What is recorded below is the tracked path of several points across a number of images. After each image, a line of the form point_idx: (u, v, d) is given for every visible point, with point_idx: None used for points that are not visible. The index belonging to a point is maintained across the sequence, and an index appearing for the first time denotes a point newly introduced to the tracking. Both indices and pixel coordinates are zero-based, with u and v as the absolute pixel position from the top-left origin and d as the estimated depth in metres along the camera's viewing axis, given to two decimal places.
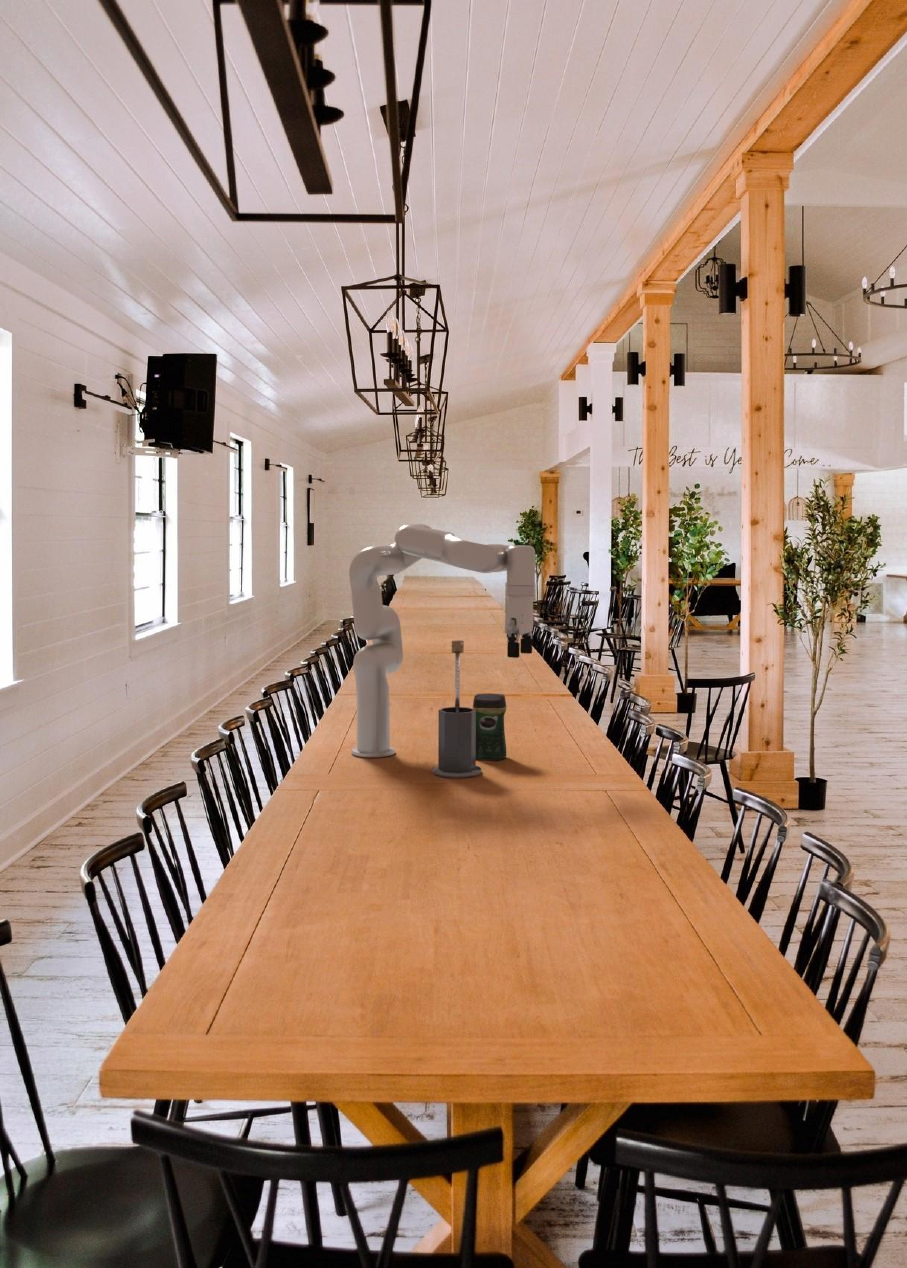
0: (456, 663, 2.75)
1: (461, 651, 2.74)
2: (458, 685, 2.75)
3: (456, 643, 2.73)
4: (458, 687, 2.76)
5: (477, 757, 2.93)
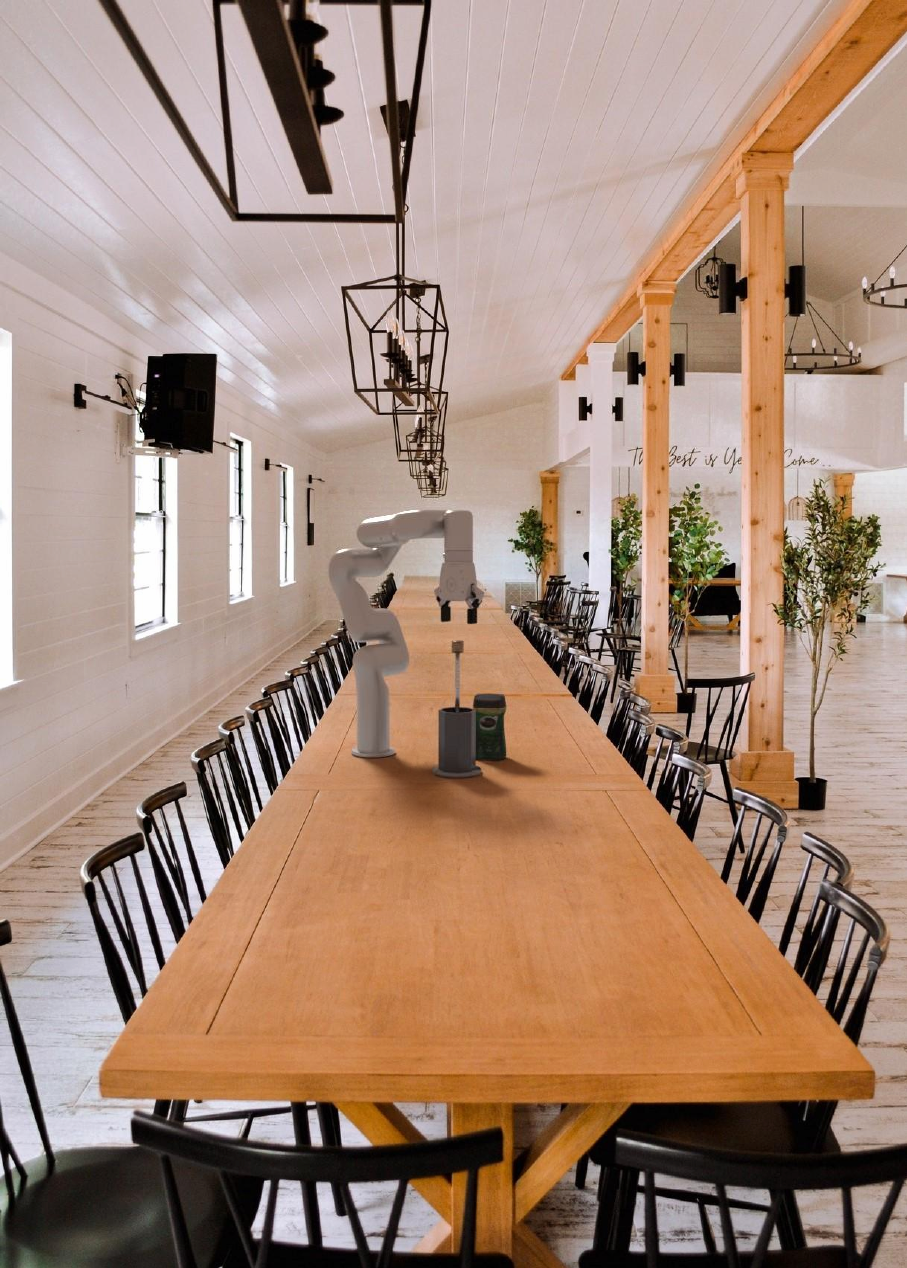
0: (456, 663, 2.75)
1: (461, 651, 2.74)
2: (458, 685, 2.75)
3: (456, 643, 2.73)
4: (458, 687, 2.76)
5: (477, 757, 2.93)
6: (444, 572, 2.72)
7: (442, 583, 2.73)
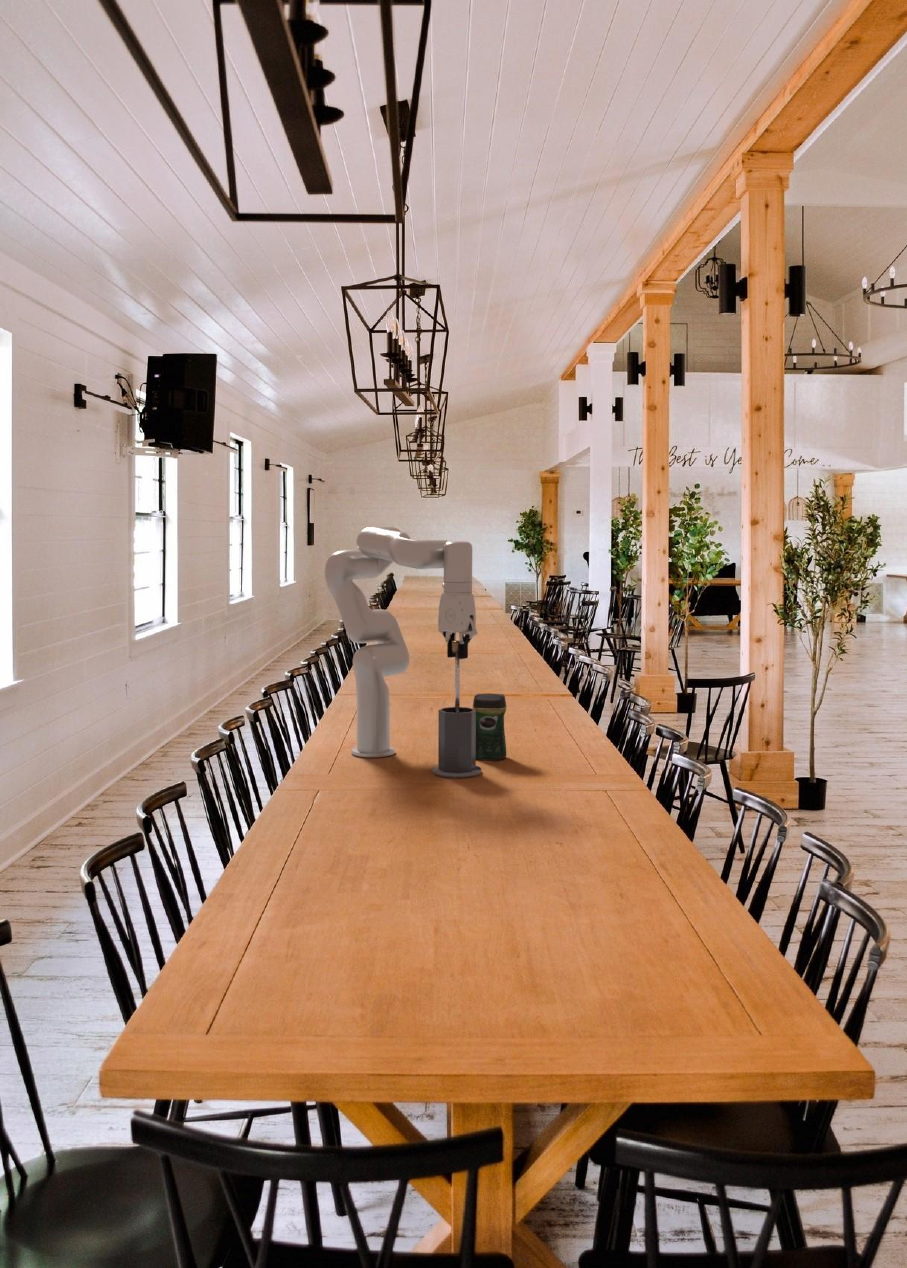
0: (456, 663, 2.75)
1: None
2: (458, 685, 2.75)
3: (456, 643, 2.73)
4: (458, 687, 2.76)
5: (477, 757, 2.93)
6: (443, 603, 2.73)
7: (441, 614, 2.74)
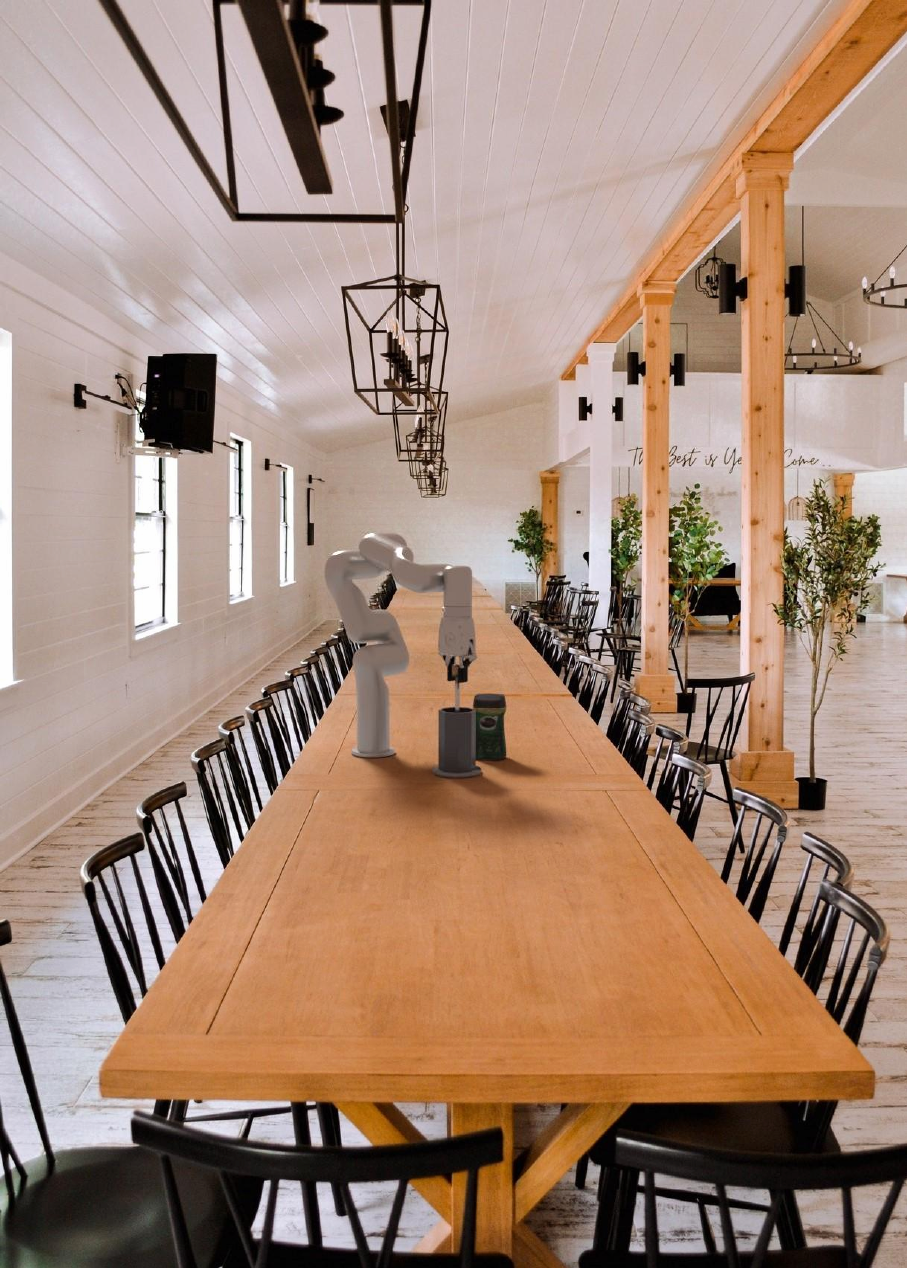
0: (456, 686, 2.75)
1: None
2: (458, 709, 2.76)
3: (456, 667, 2.74)
4: (458, 711, 2.76)
5: (477, 757, 2.93)
6: (443, 627, 2.74)
7: (441, 638, 2.75)
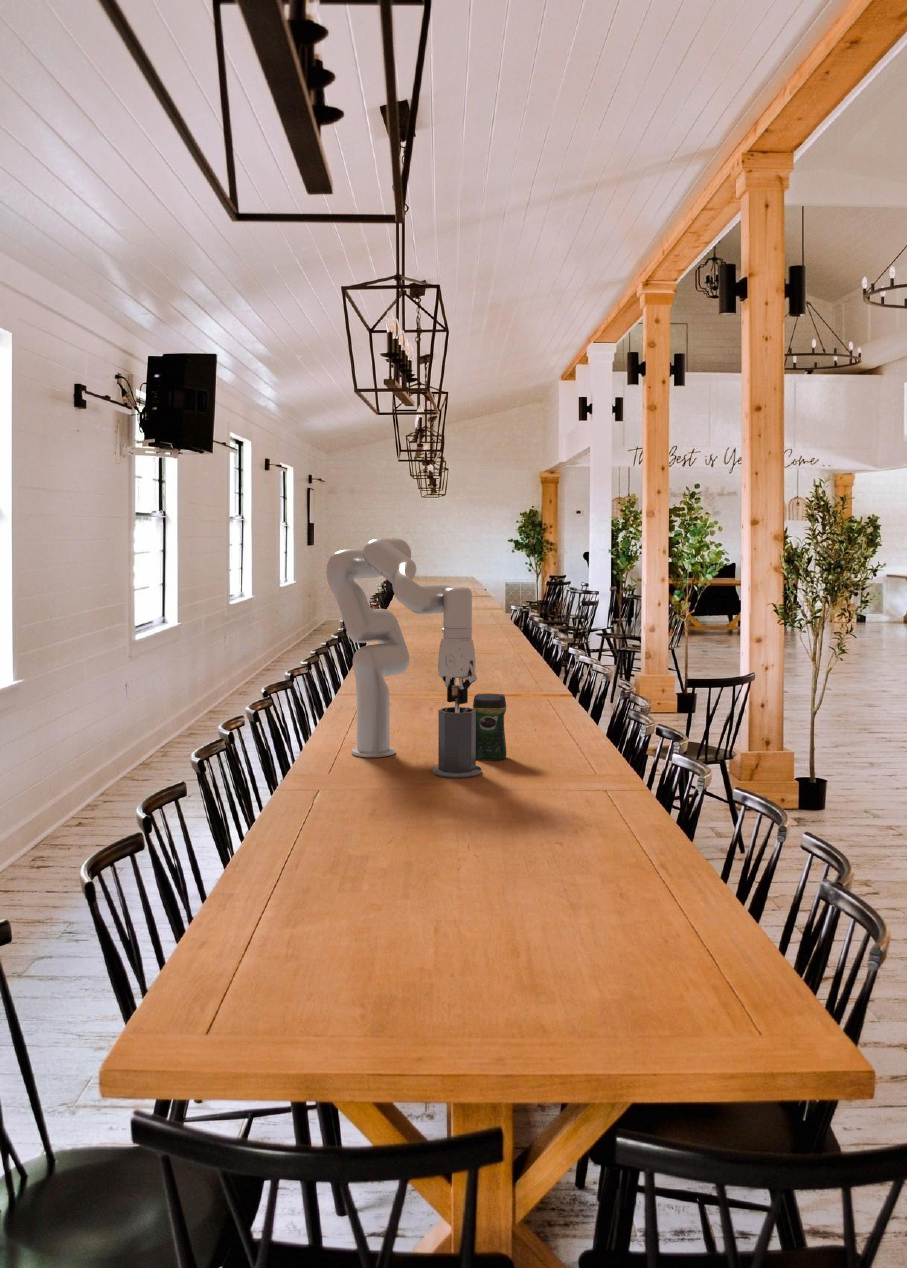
0: (456, 708, 2.76)
1: None
2: None
3: (456, 688, 2.74)
4: None
5: (477, 757, 2.93)
6: (443, 648, 2.75)
7: (441, 659, 2.76)
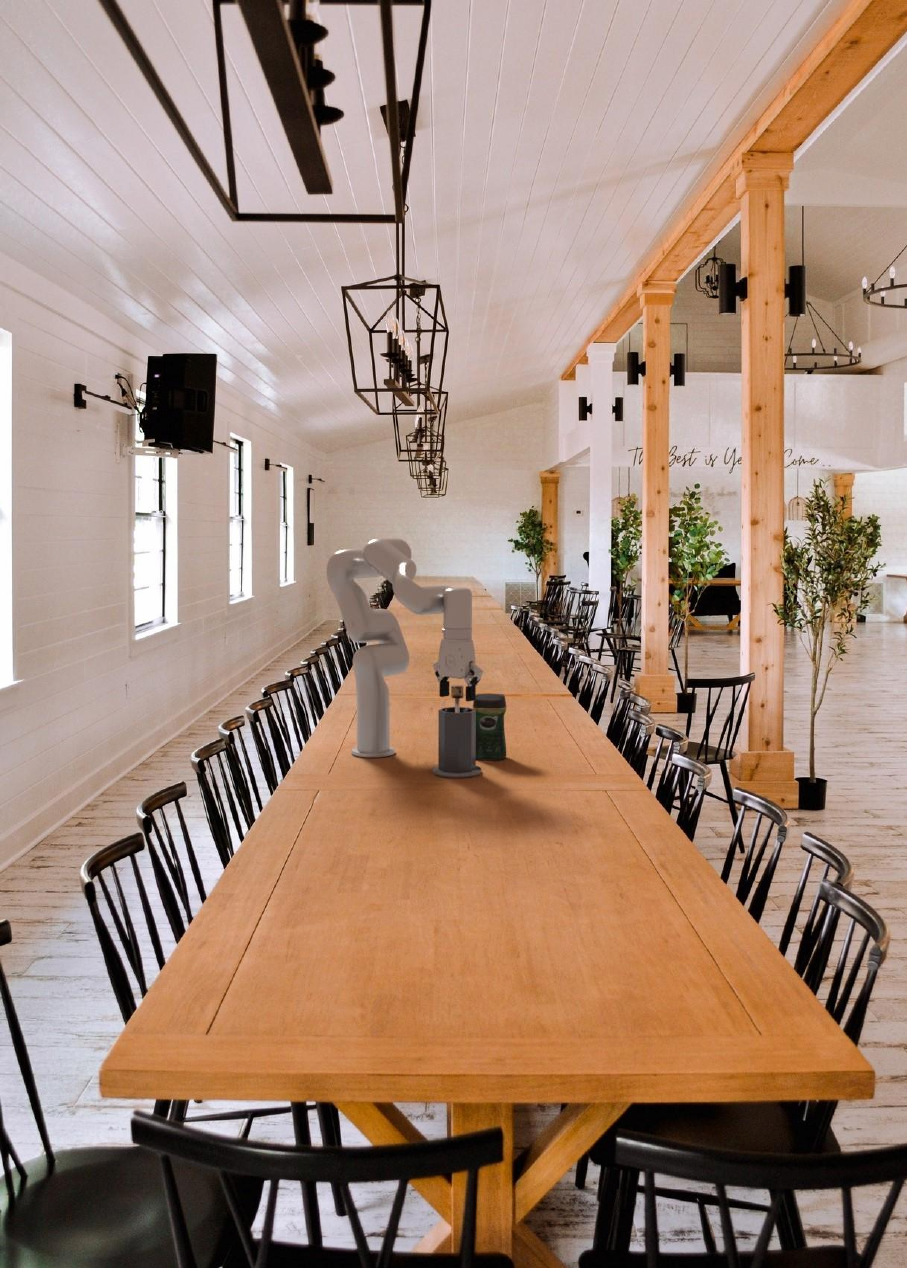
0: (456, 708, 2.76)
1: (461, 696, 2.75)
2: None
3: (456, 689, 2.74)
4: None
5: (477, 757, 2.93)
6: (443, 649, 2.75)
7: (441, 659, 2.76)
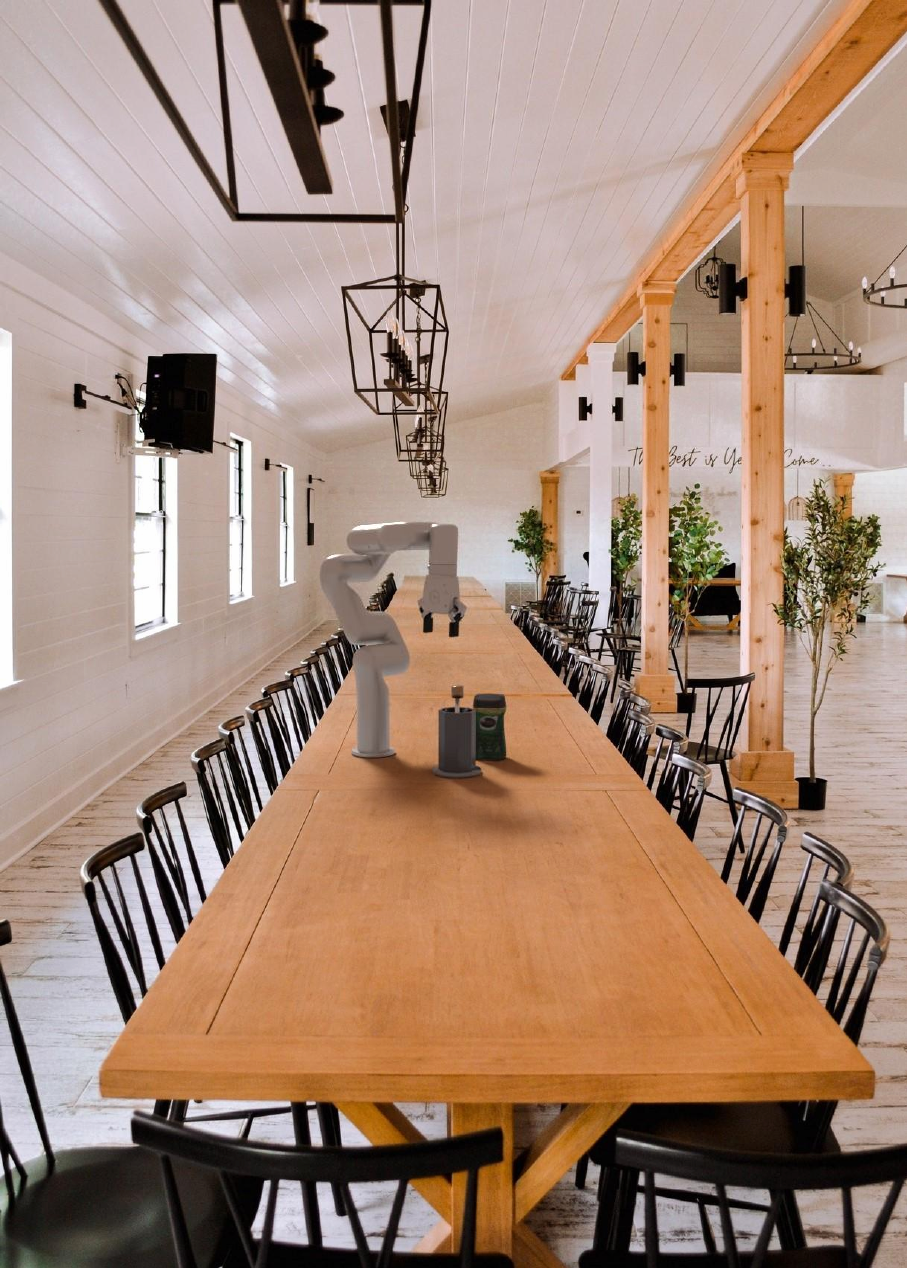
0: (456, 708, 2.76)
1: (461, 696, 2.75)
2: None
3: (456, 689, 2.74)
4: None
5: (477, 757, 2.93)
6: (428, 584, 2.76)
7: (425, 595, 2.77)
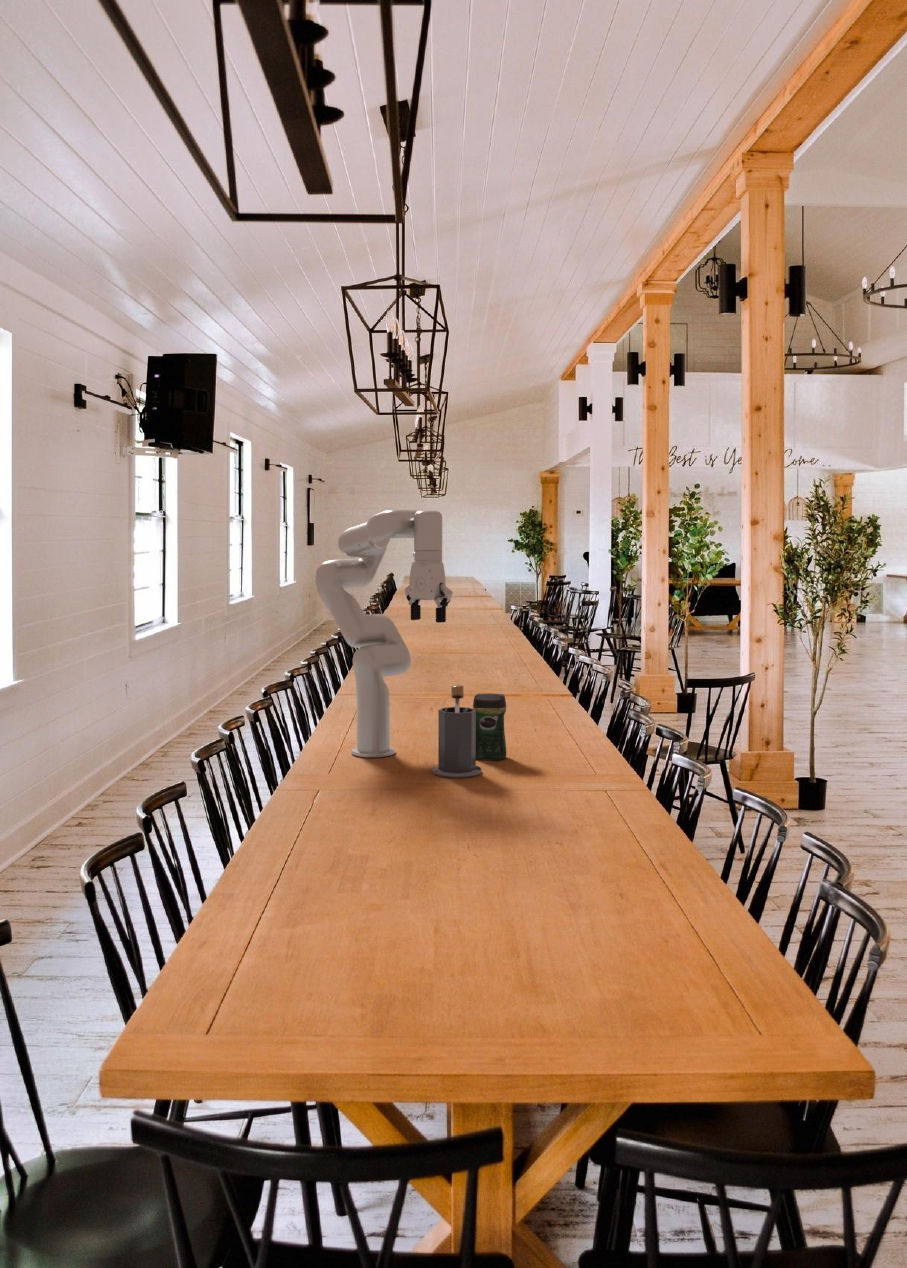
0: (456, 708, 2.76)
1: (461, 696, 2.75)
2: None
3: (456, 689, 2.74)
4: None
5: (477, 757, 2.93)
6: (414, 571, 2.78)
7: (412, 582, 2.79)
